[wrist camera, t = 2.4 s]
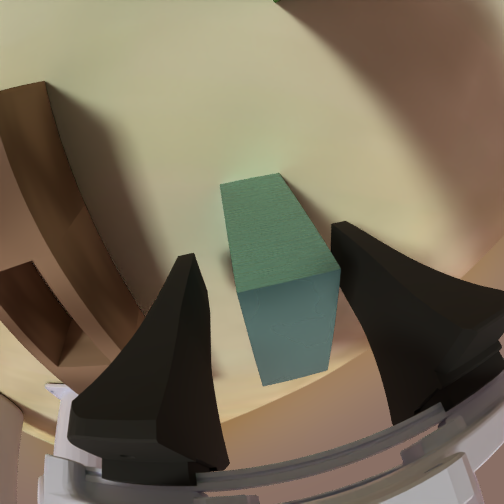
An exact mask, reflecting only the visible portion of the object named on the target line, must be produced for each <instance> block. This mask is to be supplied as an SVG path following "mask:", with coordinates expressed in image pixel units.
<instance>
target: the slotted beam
mask: <svg viewBox="0 0 504 504" xmlns="http://www.w3.org/2000/svg"><path fill="white" fill-rule="evenodd" d="M32 260H33V262H34V263H35V265H36V267H37V268H38V270H39V271H40V273H41V274H42V276H43V277H44V279H45V280H46V282H47V283H48V285H49V286H50V288H51V289H52V291H53V292H54V294H55V295H56V296H57V298H58V299H59V300H60V302H61V303H62V305H63V306H64V307H65V308H66V310H67V311H68V312H69V314H70V315H71V316H72V318H73V319H71V318H70V317H69V316H68V314H67V313H66V312H65V310H64V309H63V308H62V306H61V305H60V304H59V302H58V301H57V300H56V298H55V297H54V296H53V294H52V293H51V291H50V290H49V289H48V287H47V286H46V284H45V283H44V281H43V280H42V278H41V277H40V275H39V274H38V272H37V271H36V269H35V267H34V266H33V264H32V263H31V261H32ZM144 319H145V317H144V315H143V314H142V312H141V310H140V309H139V307H138V305H137V304H136V302H135V301H134V299H133V297H132V295H131V294H130V292H129V290H128V289H127V287H126V285H125V283H124V282H123V280H122V278H121V276H120V274H119V273H118V271H117V269H116V267H115V265H114V263H113V262H112V260H111V258H110V256H109V254H108V252H107V250H106V248H105V246H104V244H103V242H102V240H101V238H100V236H99V234H98V232H97V230H96V228H95V225H94V223H93V221H92V219H91V217H90V215H89V212H88V210H87V208H86V206H85V203H84V201H83V199H82V196H81V194H80V191H79V189H78V186H77V184H76V181H75V179H74V176H73V174H72V171H71V168H70V166H69V163H68V160H67V157H66V155H65V152H64V149H63V146H62V143H61V140H60V137H59V133H58V130H57V127H56V124H55V120H54V117H53V113H52V109H51V106H50V102H49V98H48V94H47V90H46V85H45V81H42V82H36V83H31V84H26V85H22V86H17V87H13V88H9V89H5V90H1V91H0V320H1V321H2V323H3V324H4V325H5V326H6V327H7V328H8V330H9V331H10V332H11V333H12V334H13V335H14V336H15V337H16V338H17V339H18V341H19V342H20V343H21V344H22V345H23V346H24V347H25V348H26V349H27V350H28V351H29V352H30V353H31V354H32V355H33V356H34V357H35V358H36V359H37V360H38V361H39V362H40V363H42V364H43V365H44V366H45V367H46V368H47V369H48V370H49V371H50V372H51V373H53V374H54V375H55V376H56V377H57V378H58V379H59V380H61V381H62V382H63V383H64V384H65V385H67V386H68V387H69V388H70V389H72V390H73V391H74V392H75V393H77V394H78V395H79V394H80V393H82V392H83V391H84V390H85V389H86V388H87V387H88V386H89V385H90V384H92V383H93V382H94V381H95V380H96V379H97V378H98V377H99V376H100V374H101V373H102V372H103V371H104V370H105V369H106V368H107V367H108V366H109V365H110V364H111V363H112V362H113V360H114V359H115V358H116V357H117V356H118V354H119V353H120V352H121V351H122V349H123V348H124V347H125V346H126V344H127V343H128V342H129V341H130V339H131V338H132V337H133V335H134V334H135V332H136V331H137V330H138V328H139V327H140V325H141V324H142V322H143V320H144Z"/></svg>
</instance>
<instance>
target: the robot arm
mask: <svg viewBox="0 0 504 504" xmlns="http://www.w3.org/2000/svg"><path fill="white" fill-rule="evenodd" d="M331 253H332V255H333V256H334V258H335V260H336V261H337V263H338V265H339V266H340V268H341V273H340V284H339V286H340V288H341V290H342V292H343V293H344V295H345V297H346V299H347V300H348V302H349V304H350V306H351V307H352V309H353V311H354V313H355V315H356V316H357V318H358V320H359V322H360V324H361V326H362V328H363V330H364V332H365V334H366V336H367V339H368V341H369V344H370V346H371V349H372V351H373V354H374V357H375V360H376V362H377V366H378V369H379V372H380V375H381V378H382V382H383V386H384V389H385V393H386V397H387V401H388V406H389V410H390V415H391V421H392V424H393V426H392V427H390V428H388V429H385V430H383V431H381V432H378V433H376V434H373V435H371V436H368V437H366V438H363V439H361V440H358V441H355V442H352V443H349V444H346V445H343V446H340V447H337V448H334V449H331V450H328V451H324V452H321V453H317V454H314V455H310V456H306V457H302V458H298V459H294V460H290V461H285V462H280V463H276V464H270V465H264V466H259V467H252V468H246V469H238V470H230V471H223V470H225V469H226V467H227V466H228V465H229V464H230V462H229V459H228V455H227V451H226V447H225V442H224V439H223V434H222V429H221V424H220V419H219V414H218V409H217V403H216V397H215V391H214V384H213V377H212V368H211V331H210V308H209V300H208V292H207V289H206V286H205V283H204V280H203V277H202V275H201V272H200V269H199V266H198V263H197V260H196V257H195V254H194V253H191V254H186V255H181V256H178V258H177V259H176V261H175V263H174V265H173V268H172V270H171V272H170V274H169V276H168V278H167V280H166V282H165V284H164V285H163V287H162V289H161V291H160V293H159V295H158V297H157V299H156V300H155V302H154V304H153V305H152V307H151V309H150V311H149V312H148V314H147V316H146V317H145V319H144V320H143V322H142V324H141V325H140V327H139V328H138V330H137V331H136V332H135V334H134V335H133V337H132V338H131V339H130V341H129V342H128V343H127V344H126V346H125V347H124V348H123V349H122V351H121V352H120V353H119V354H118V356H117V357H116V358H115V359H114V360H113V362H112V363H111V364H110V365H109V366H108V367H107V368H106V369H105V370H104V371H103V372H102V373H101V374H100V376H99V377H98V378H97V379H96V380H95V381H94V382H93V383H92V384H90V385H89V386H88V387H87V388H86V389H85V390H84V391H83V392H82V393H80V394H79V395H78V394H77V393H75V392H74V391H73V390H72V389H70V388H69V387H68V386H67V385H65V384H45V388H46V389H47V390H48V391H49V392H51V393H52V394H53V395H54V396H56V397H57V398H58V399H60V400H61V401H60V407H59V413H58V419H57V427H56V435H55V444H54V455H50V454H46V455H45V467H44V474H43V476H40V477H39V480H38V504H260V503H259V498H258V496H257V495H249V496H246V495H236V496H221V497H208V495H207V494H205V493H202V492H217V491H230V490H239V489H248V488H255V487H262V486H268V485H274V484H279V483H284V482H289V481H293V480H298V479H302V478H306V477H310V476H314V475H317V474H321V473H325V472H328V471H331V470H334V469H337V468H341V467H344V466H347V465H350V464H352V463H355V462H358V461H361V460H363V459H366V458H368V457H371V456H373V455H376V454H378V453H381V452H383V451H385V450H387V449H390V448H392V447H394V446H396V445H399V444H400V443H403V442H405V441H407V440H409V439H411V438H413V437H415V436H417V435H419V434H420V433H422V432H424V431H426V430H428V429H430V428H431V427H433V426H435V425H436V424H438V423H439V425H438V429H437V430H436V431H434V432H432V433H431V434H429V435H427V436H425V437H424V438H422V439H420V440H419V441H418V442H416V443H415V444H413V445H411V446H410V447H408V448H406V449H404V450H402V451H401V453H400V454H401V457H402V460H403V463H402V464H400V465H398V466H396V467H393V468H392V469H389V470H387V471H384V472H382V473H380V474H378V475H375V476H372V477H370V478H367V479H365V480H362V481H359V482H356V483H354V484H351V485H348V486H345V487H342V488H339V489H336V490H332V491H329V492H325V493H322V494H318V495H314V496H311V497H307V498H303V499H298V500H294V501H289V502H285V503H280V504H485V503H484V499H483V496H482V493H481V489H480V486H479V483H478V480H477V477H476V474H475V471H476V470H477V469H478V468H479V467H480V466H481V465H482V464H484V463H485V461H487V460H488V458H490V457H491V456H492V454H493V453H495V451H496V450H497V449H498V448H499V447H500V446H501V445H502V444H503V443H504V358H503V357H502V355H501V354H500V352H499V350H500V349H501V348H502V346H501V344H500V342H499V341H498V339H499V338H500V337H501V336H502V334H503V333H504V291H502V290H498V289H493V288H488V287H484V286H480V285H476V284H473V283H470V282H466V281H463V280H460V279H457V278H455V277H452V276H449V275H447V274H444V273H441V272H439V271H437V270H434V269H432V268H430V267H428V266H425V265H423V264H421V263H419V262H417V261H415V260H413V259H411V258H409V257H407V256H405V255H404V254H402V253H400V252H398V251H396V250H394V249H393V248H391V247H389V246H388V245H386V244H384V243H382V242H381V241H379V240H377V239H376V238H374V237H372V236H371V235H369V234H368V233H366V232H364V231H363V230H361V229H359V228H358V227H356V226H354V225H352V224H350V223H349V222H347V221H343V222H338V223H333V224H331ZM214 471H219V472H214Z"/></svg>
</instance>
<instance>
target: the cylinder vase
mask: <svg viewBox="0 0 504 504" xmlns="http://www.w3.org/2000/svg"><path fill="white" fill-rule="evenodd" d="M23 420H24V416H23V413H22V411H21V410H20V409H19V408H18V407H17V406H16V405H15V404H14V403H13V402H11V401H10V400H9V399H7V398H6V397H5V396H3V395H2V394H0V504H17V472H18V458H19V448H20V440H21V433H22V426H23Z"/></svg>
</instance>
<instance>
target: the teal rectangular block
mask: <svg viewBox="0 0 504 504" xmlns="http://www.w3.org/2000/svg"><path fill="white" fill-rule="evenodd" d="M220 189H221V196H222V203H223V209H224V216H225V223H226V229H227V235H228V242H229V248H230V254H231V260H232V267H233V273H234V279H235V285H236V291H237V295H238V299H239V303H240V306H241V310H242V314H243V317H244V321H245V325H246V328H247V332H248V336H249V339H250V343H251V346H252V350H253V354H254V357H255V361H256V364H257V368H258V371H259V375H260V378H261V382H262V385H263V386H267V385H272V384H276V383H280V382H285V381H289V380H293V379H297V378H301V377H305V376H308V375H312V374H316V373H319V372H323V371H326V370H328V364H329V359H330V352H331V346H332V340H333V333H334V326H335V318H336V310H337V302H338V293H339V284H340V273H341V268H340V266H339V265H338V263H337V261H336V260H335V258H334V256H333V255H332V253H331V252H330V250H329V248H328V247H327V245H326V244H325V242H324V240H323V239H322V237H321V236H320V234H319V232H318V231H317V229H316V228H315V226H314V225H313V223H312V222H311V220H310V218H309V217H308V215H307V214H306V212H305V211H304V209H303V208H302V206H301V205H300V203H299V202H298V200H297V199H296V197H295V196H294V194H293V193H292V191H291V190H290V188H289V187H288V186H287V184H286V183H285V181H284V180H283V178H282V177H281V175H280V174H279V173H276V174H271V175H265V176H260V177H255V178H249V179H244V180H239V181H234V182H230V183H225V184H220Z"/></svg>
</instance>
